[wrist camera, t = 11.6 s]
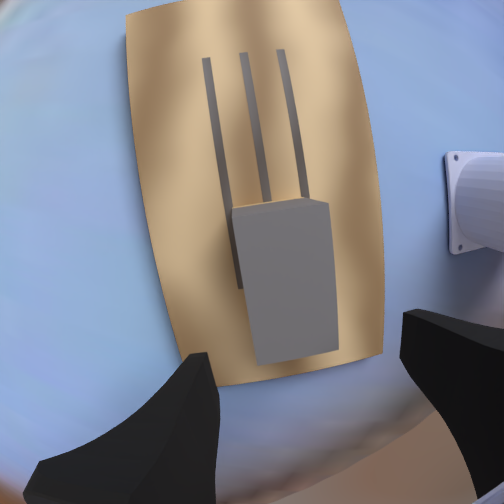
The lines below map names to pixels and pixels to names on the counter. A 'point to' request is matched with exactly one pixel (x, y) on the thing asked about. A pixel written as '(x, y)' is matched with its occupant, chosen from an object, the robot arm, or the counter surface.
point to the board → (252, 163)
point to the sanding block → (288, 277)
